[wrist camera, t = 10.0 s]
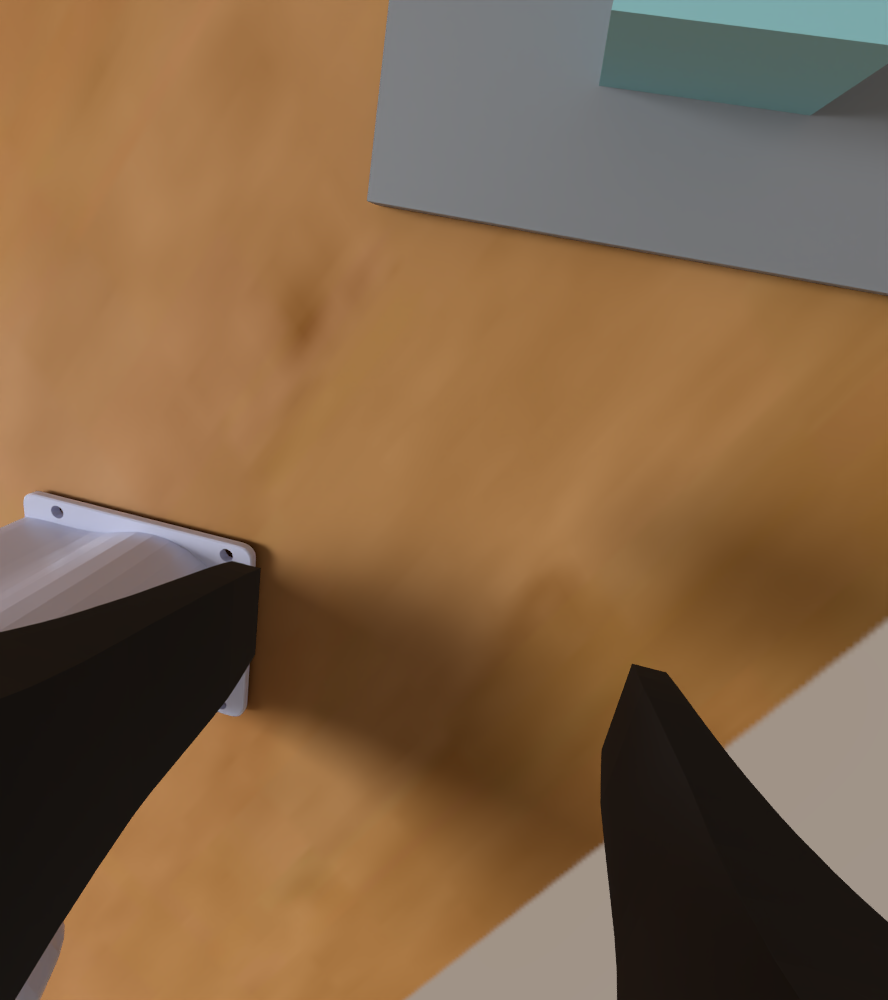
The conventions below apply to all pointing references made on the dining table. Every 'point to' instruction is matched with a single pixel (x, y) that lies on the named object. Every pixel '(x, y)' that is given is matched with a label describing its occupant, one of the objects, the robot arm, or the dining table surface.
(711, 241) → the pin board
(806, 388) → the dining table surface
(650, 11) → the teal cube
